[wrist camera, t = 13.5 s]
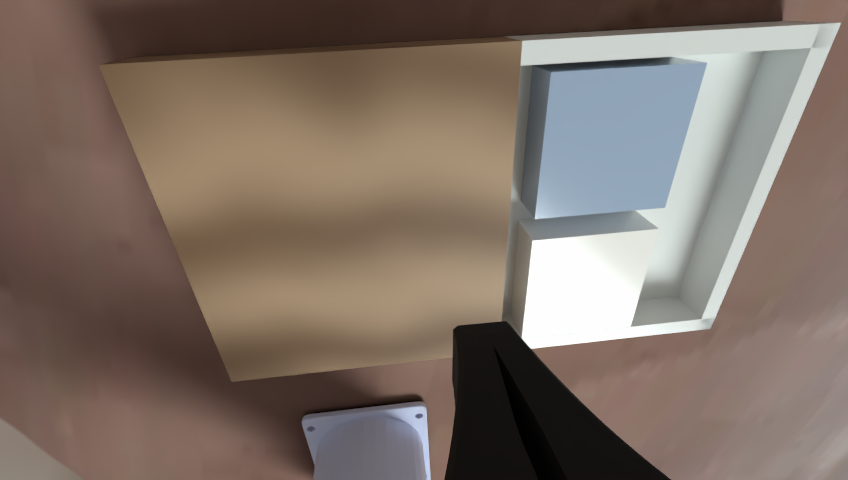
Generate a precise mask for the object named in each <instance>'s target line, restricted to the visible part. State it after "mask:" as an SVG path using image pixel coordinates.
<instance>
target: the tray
mask: <svg viewBox="0 0 848 480" xmlns="http://www.w3.org/2000/svg"><path fill="white" fill-rule="evenodd" d="M840 24H841V23H834V22H804V21H772V22H754V23H736V24H718V25H700V26H682V27H664V28H646V29H628V30H610V31H592V32H574V33H556V34H538V35H520V36H503V37H508V38H512V39H517V40H521V41H522V52H521V65H520V79H519V92H518V106H517V119H516V133H515V147H514V160H513V174H512V187H511V201H510V215H509V228H508V242H507V255H506V269H505V283H504V296H503V310H502V321H507V322H508V323H509V324H510V325H511V326H512V327H513V329H514V330H515V331H516V332H517V333H518V335H519V336H520V337H521V335H520V333H519V331H518V329H517V326H516V324H515V322H514V320H513V317H512V315H511V305H512V293H513V282H514V270H515V259H516V247H517V236H518V224H519V220H529V219H534V218H533V216H532V215H531V214H530V212H529V211H528V210H527V208H526V207H525V206H524V204H523V203H522V202H521V188H522V177H523V166H524V154H525V143H526V132H527V120H528V109H529V98H530V86H531V75H532V65H546V64H563V63H580V62H596V61H613V60H629V59H646V58H663V57H677V58H683V59H689V60H695V61H701V62H707V66H706V69H705V72H704V76H703V79H702V83H701V86H700V90H699V93H698V96H697V100H696V103H695V107H694V110H693V114H692V117H691V120H690V124H689V127H688V131H687V134H686V138H685V141H684V144H683V148H682V151H681V155H680V158H679V162H678V165H677V168H676V172H675V175H674V179H673V182H672V185H671V189H670V192H669V196H668V199H667V203H666V206H665V208H657V209H646V210H635V211H637V212H638V213H639V214H641V215H642V216H643V217H644V218H646V219H647V220H648V221H650V222H651V223H652V224H653V225H655V226H656V227H657V228H658V229H659V231H658V234H657V237H656V241H655V244H654V248H653V251H652V255H651V258H650V262H649V265H648V268H647V272H646V275H645V279H644V282H643V286H642V289H641V292H640V296H639V299H638V303H637V306H636V310H635V313H634V317H633V320H632V323H631V326H630V327H621V328H612V329H603V330H594V331H585V332H576V333H566V334H557V335H548V336H539V337H530V338H522V339H523V340H524V342H525V343H526V344H527V345H528V346H529V347H530V349H532V348H541V347H550V346H559V345H568V344H577V343H586V342H595V341H604V340H612V339H621V338H630V337H639V336H648V335H657V334H666V333H675V332H684V331H693V330H702V329H711V326H712V324H713V322H714V319H715V317H716V314H717V312H718V310H719V307H720V305H721V303H722V300H723V298H724V296H725V293H726V291H727V289H728V286H729V284H730V282H731V279H732V277H733V275H734V272H735V270H736V268H737V265H738V263H739V261H740V258H741V256H742V254H743V251H744V249H745V247H746V244H747V242H748V240H749V237H750V235H751V233H752V230H753V228H754V226H755V223H756V221H757V219H758V216H759V214H760V212H761V209H762V207H763V205H764V202H765V200H766V197H767V195H768V193H769V190H770V188H771V186H772V183H773V181H774V179H775V176H776V174H777V172H778V169H779V167H780V165H781V162H782V160H783V158H784V155H785V153H786V151H787V148H788V146H789V144H790V141H791V139H792V137H793V134H794V132H795V130H796V127H797V125H798V123H799V120H800V118H801V116H802V113H803V111H804V109H805V106H806V104H807V102H808V99H809V97H810V95H811V92H812V90H813V88H814V85H815V83H816V80H817V78H818V76H819V73H820V71H821V69H822V66H823V64H824V62H825V59H826V57H827V55H828V52H829V50H830V48H831V45H832V43H833V41H834V38H835V36H836V34H837V31H838V29H839V27H840Z"/></svg>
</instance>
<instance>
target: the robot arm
mask: <svg viewBox="0 0 848 480" xmlns="http://www.w3.org/2000/svg"><path fill="white" fill-rule="evenodd" d="M452 381H453V388H454V397H455V408H456V409H455V417H454V425H453V433H452V440H451V447H450V453H449V458H448V464H447V469H446V474H445V480H671V479H669V478H668V477H667V476H666V475H664V474H663V473H662V472H661V471H659V470H658V469H657V468H655V467H654V466H653V465H652V464H650V463H649V462H648V461H647V460H645V459H644V458H643V457H642V456H641V455H640V454H638V453H637V452H636V451H635V450H634V449H632V448H631V447H630V446H629V445H628V444H626V443H625V442H624V441H623V440H622V439H621V438H619V437H618V436H617V435H616V434H615V433H614V432H613V431H612V430H610V429H609V428H608V427H607V426H606V425H605V424H604V423H603V422H602V421H601V420H600V419H598V418H597V417H596V416H595V415H594V414H593V413H592V412H591V411H590V410H589V409H588V408H587V407H586V406H585V405H584V404H583V403H582V402H581V401H580V400H579V399H578V398H577V397H576V396H575V395H574V394H573V393H571V391H570V390H569V389H568V388H567V387H566V386H565V385H564V384H563V383H562V382H561V381H560V380H559V379H558V378H557V377H556V376H555V375H554V374H553V373H552V372H551V371H550V370H549V369H548V367H547V366H546V365H545V364H544V363H543V362H542V361H541V360H540V359H539V358H538V356H537V355H536V354H535V353H534V352H533V351H532V350H531V349H530V347H529V346H528V345H527V344H526V343H525V342H524V340H523V339H522V338H521V337H520V336H519V335H518V333H517V332H516V331H515V330H514V329H513V327H512V326H511V325H510V324H509V323H508V322H507V321H500V322H490V323H479V324H469V325H458V326H456V327H455V328H454V329H453V371H452ZM302 427H303V430H304V433H305V436H306V440H307V443H308V446H309V449H310V452H311V456H312V459H313V462H314V465H315V468H314V476H313V480H431V478H430V461H429V445H428V429H427V412H426V405H425V403H424V402H421V401H417V402H408V403H400V404H391V405H383V406H375V407H366V408H358V409H349V410H341V411H332V412H324V413H315V414H308V415H305V416H304V417H303V418H302Z"/></svg>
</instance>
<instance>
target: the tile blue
mask: <svg viewBox="0 0 848 480" xmlns="http://www.w3.org/2000/svg"><path fill="white" fill-rule="evenodd" d="M706 66H707V62H701V61H695V60H689V59H683V58H677V57H663V58H646V59H629V60H613V61H596V62H580V63H563V64H546V65H532V75H531V86H530V98H529V109H528V120H527V132H526V143H525V154H524V166H523V177H522V188H521V202H522V203H523V204H524V206H525V207H526V208H527V210H528V211H529V212H530V214H531V215H532V216H533V218H534V219H543V218H554V217H566V216H577V215H589V214H600V213H611V212H623V211H634V210H646V209H657V208H665V206H666V203H667V199H668V196H669V192H670V189H671V185H672V182H673V179H674V175H675V172H676V168H677V165H678V162H679V158H680V155H681V151H682V148H683V144H684V141H685V138H686V134H687V131H688V127H689V124H690V120H691V117H692V114H693V110H694V107H695V103H696V100H697V96H698V93H699V90H700V86H701V83H702V79H703V76H704V72H705V69H706Z"/></svg>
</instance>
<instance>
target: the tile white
mask: <svg viewBox="0 0 848 480" xmlns="http://www.w3.org/2000/svg"><path fill="white" fill-rule="evenodd" d="M658 231H659V229H658V228H657V227H656V226H655V225H653V224H652V223H651V222H650V221H648V220H647V219H646V218H644V217H643V216H642V215H641V214H639V213H638V212H637V211H635V210H634V211H623V212H611V213H600V214H589V215H577V216H566V217H554V218H543V219H529V220H519V224H518V236H517V247H516V259H515V270H514V282H513V293H512V305H511V315H512V317H513V320H514V322H515V324H516V326H517V329H518V331H519V333H520V335H521V338H530V337H539V336H548V335H557V334H566V333H576V332H585V331H594V330H603V329H612V328H621V327H630V326H631V323H632V320H633V317H634V313H635V310H636V306H637V303H638V299H639V296H640V292H641V289H642V286H643V282H644V279H645V275H646V272H647V268H648V265H649V262H650V258H651V255H652V251H653V248H654V244H655V241H656V237H657V234H658Z"/></svg>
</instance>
